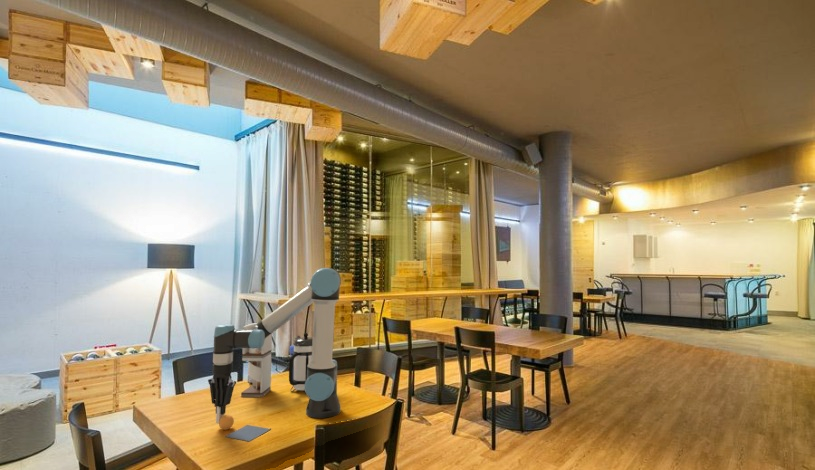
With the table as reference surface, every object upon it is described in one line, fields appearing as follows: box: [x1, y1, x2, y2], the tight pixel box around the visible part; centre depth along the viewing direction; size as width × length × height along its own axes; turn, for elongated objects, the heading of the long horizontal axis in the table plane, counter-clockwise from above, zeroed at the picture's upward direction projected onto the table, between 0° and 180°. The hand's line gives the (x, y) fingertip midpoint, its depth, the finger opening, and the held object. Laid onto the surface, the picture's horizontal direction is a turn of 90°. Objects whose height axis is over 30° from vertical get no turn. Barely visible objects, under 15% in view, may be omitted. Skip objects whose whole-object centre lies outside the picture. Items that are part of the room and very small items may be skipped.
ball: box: [218, 414, 235, 431], centre depth 162 cm, size 6×6×6 cm
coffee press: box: [288, 332, 313, 395], centre depth 212 cm, size 17×16×30 cm
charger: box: [247, 374, 253, 384], centre depth 229 cm, size 5×9×15 cm
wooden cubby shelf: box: [240, 322, 273, 398], centre depth 209 cm, size 11×11×35 cm
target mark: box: [224, 424, 271, 442], centre depth 157 cm, size 12×12×1 cm
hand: (220, 422), depth 163 cm, fingers closed
